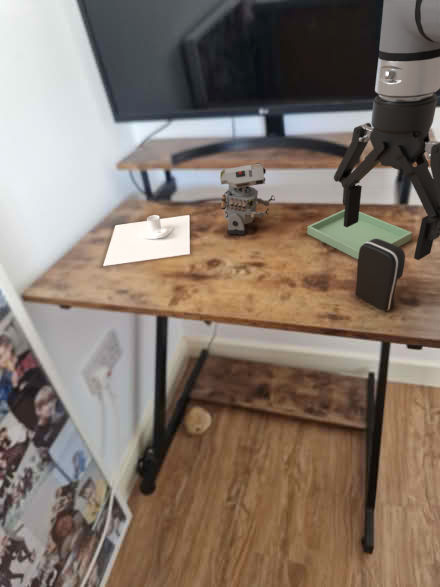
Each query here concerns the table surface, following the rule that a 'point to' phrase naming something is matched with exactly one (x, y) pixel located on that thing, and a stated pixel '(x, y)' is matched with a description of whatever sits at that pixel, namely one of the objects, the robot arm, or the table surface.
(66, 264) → the table surface
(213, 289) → the table surface
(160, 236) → the teacup and saucer
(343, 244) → the tray
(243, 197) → the figurine
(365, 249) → the battery charger
